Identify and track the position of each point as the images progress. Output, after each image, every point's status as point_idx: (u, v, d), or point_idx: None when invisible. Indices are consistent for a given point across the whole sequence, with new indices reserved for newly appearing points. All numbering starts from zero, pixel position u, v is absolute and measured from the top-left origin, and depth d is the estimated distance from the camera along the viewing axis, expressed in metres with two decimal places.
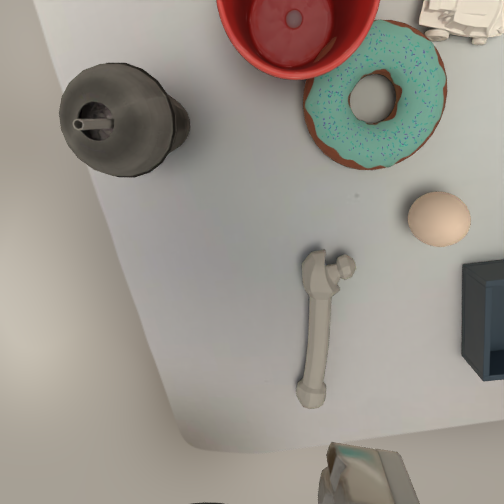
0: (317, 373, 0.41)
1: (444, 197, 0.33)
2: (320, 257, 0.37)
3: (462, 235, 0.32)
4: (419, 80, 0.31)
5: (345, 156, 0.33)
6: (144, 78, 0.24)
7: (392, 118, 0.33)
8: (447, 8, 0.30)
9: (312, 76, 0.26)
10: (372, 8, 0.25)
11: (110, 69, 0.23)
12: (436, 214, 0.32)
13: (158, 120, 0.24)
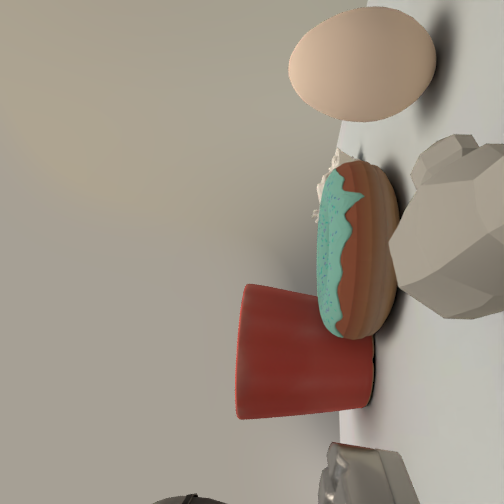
0: None
1: None
2: None
3: (299, 41, 0.18)
4: (321, 212, 0.28)
5: (337, 271, 0.21)
6: None
7: None
8: None
9: (238, 334, 0.27)
10: None
11: None
12: None
13: None
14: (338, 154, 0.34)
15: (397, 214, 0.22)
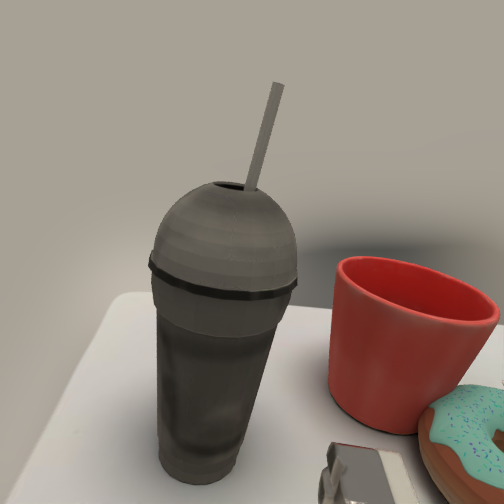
0: None
1: None
2: None
3: None
4: None
5: None
6: None
7: None
8: None
9: (456, 322, 0.22)
10: (492, 307, 0.25)
11: None
12: None
13: (294, 237, 0.18)
14: None
15: None
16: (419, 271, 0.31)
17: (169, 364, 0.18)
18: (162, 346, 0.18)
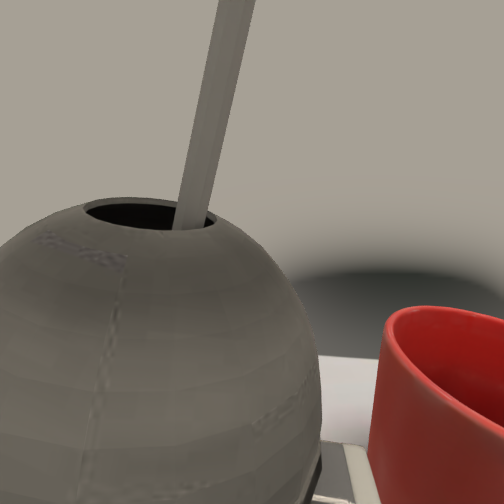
0: None
1: None
2: None
3: None
4: None
5: None
6: None
7: None
8: None
9: None
10: None
11: None
12: None
13: (313, 342, 0.07)
14: None
15: None
16: None
17: None
18: None
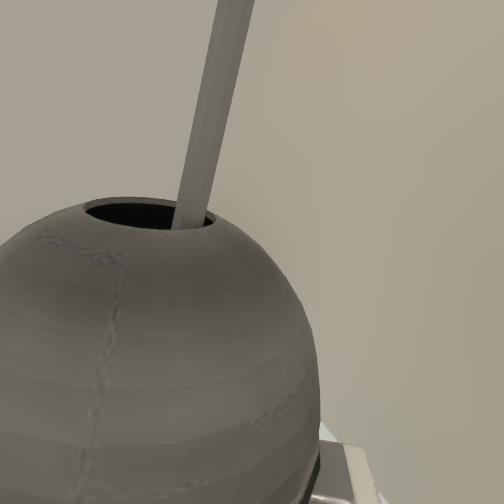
0: None
1: None
2: None
3: None
4: None
5: None
6: None
7: None
8: None
9: None
10: None
11: None
12: None
13: (312, 342, 0.07)
14: None
15: None
16: None
17: None
18: None
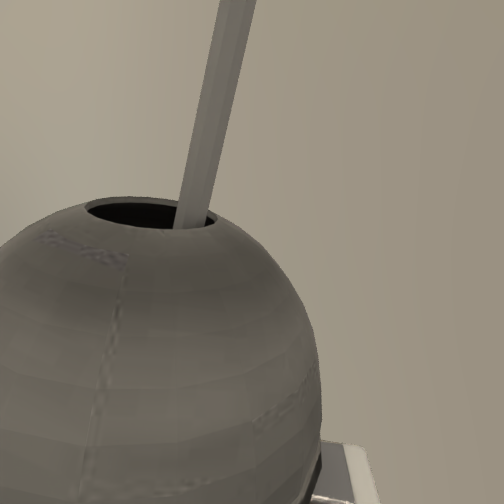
0: None
1: None
2: None
3: None
4: None
5: None
6: None
7: None
8: None
9: None
10: None
11: None
12: None
13: (313, 341, 0.07)
14: None
15: None
16: None
17: None
18: None
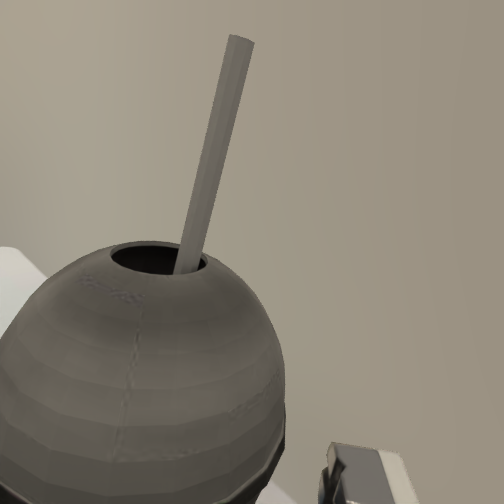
0: None
1: None
2: None
3: None
4: None
5: None
6: None
7: None
8: None
9: None
10: None
11: None
12: None
13: (279, 353, 0.09)
14: None
15: None
16: None
17: None
18: None
